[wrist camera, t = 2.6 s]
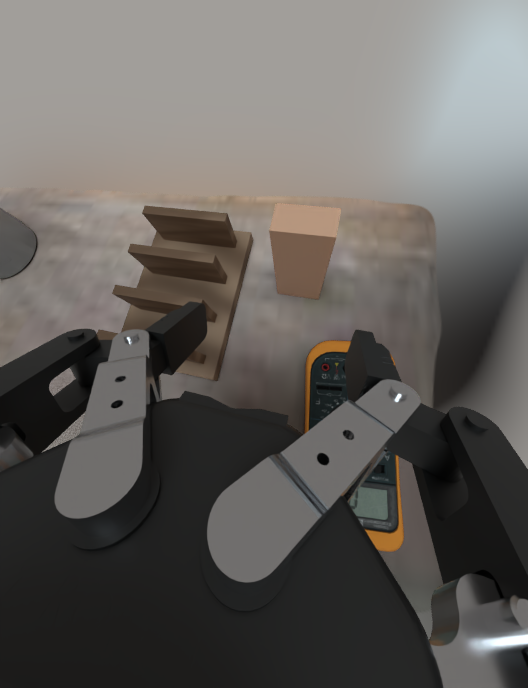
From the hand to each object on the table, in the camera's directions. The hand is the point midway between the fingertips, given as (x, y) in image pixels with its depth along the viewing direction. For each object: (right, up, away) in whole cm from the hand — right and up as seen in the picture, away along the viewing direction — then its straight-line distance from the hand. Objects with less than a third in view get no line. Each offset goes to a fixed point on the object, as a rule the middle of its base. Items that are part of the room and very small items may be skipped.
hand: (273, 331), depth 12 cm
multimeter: (+8, -10, +12) cm, 17 cm away
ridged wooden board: (-10, +5, +17) cm, 21 cm away
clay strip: (+4, +6, +16) cm, 17 cm away
